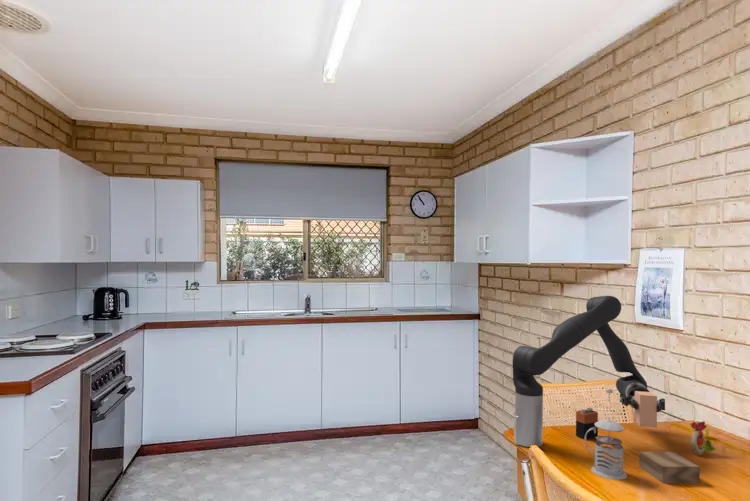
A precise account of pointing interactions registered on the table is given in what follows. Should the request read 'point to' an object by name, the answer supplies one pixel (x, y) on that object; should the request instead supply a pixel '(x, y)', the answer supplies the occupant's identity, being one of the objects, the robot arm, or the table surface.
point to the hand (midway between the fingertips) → (647, 407)
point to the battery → (586, 423)
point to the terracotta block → (646, 409)
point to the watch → (705, 428)
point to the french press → (608, 450)
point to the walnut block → (669, 467)
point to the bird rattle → (700, 439)
